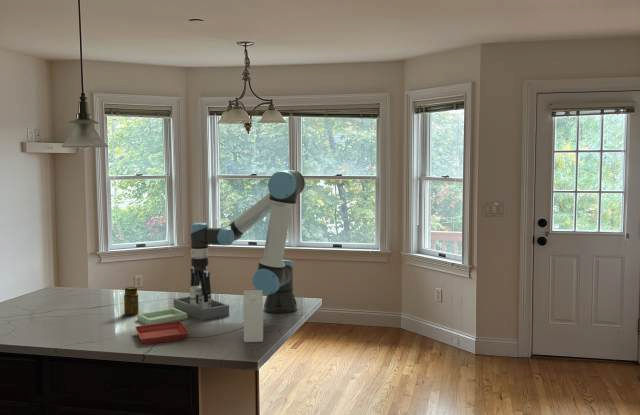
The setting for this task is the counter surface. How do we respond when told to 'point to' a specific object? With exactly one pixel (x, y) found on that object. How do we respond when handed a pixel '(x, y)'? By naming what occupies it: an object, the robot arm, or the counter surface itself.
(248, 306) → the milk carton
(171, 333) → the plant saucer
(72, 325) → the counter surface
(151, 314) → the tray
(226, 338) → the counter surface
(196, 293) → the ink box
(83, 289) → the counter surface
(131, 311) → the condiment
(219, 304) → the tray
